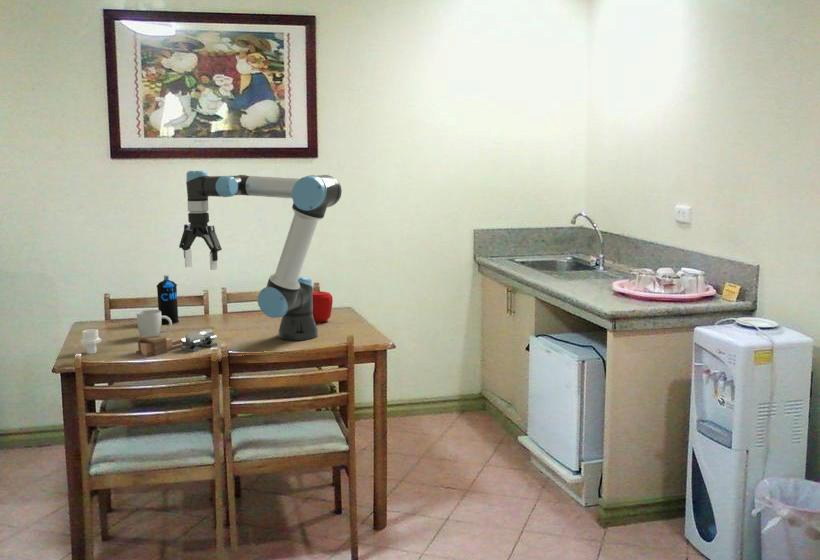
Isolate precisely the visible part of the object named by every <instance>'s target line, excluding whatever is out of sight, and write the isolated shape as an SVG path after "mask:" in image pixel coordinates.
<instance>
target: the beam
mask: <svg viewBox="0 0 820 560" xmlns="http://www.w3.org/2000/svg"><path fill="white" fill-rule="evenodd" d="M166 338H167V337H164V336H154V335H146V336H142V337H141V336H139V337H137V348H138V350H136V351H135V354H136V355H140V354H141V345H140V343H144V342H153V352H150V353H147V355H146V357H152V356H158V355H163V354H167V353H168V352H170V351H171V352H172V351H174V350H178V349H180V347H182V346H184V345H183V344H182V342H181V341H180V340H181V339H178V340H174V341H172V347H169V348H167V343H166Z"/></svg>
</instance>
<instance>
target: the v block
mask: <svg viewBox="0 0 820 560" xmlns="http://www.w3.org/2000/svg"><path fill="white" fill-rule="evenodd" d="M217 338H218V336H217V335H216V334H214V336H210V337H209V338H208V339H207V340H206V341H203V342H200V340H195V341H192V342H191V344H190V345H188V344H187V343H186V341H185V337H184V338H180V339H179V340H180V341H181V342H182V343H181V344H183V345H184V346H182V347H180V348H179V349H180V351H185V352H189V353H190V352H191V353H196V352H195V351H197V352H200V351H202V347H205V346H207V347H206V348H215V347H218V342H214V341H215V339H217ZM200 345H202V346H201V347H200ZM214 346H215V347H214ZM199 350H200V351H199Z"/></svg>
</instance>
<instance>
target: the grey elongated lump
mask: <svg viewBox="0 0 820 560" xmlns="http://www.w3.org/2000/svg"><path fill="white" fill-rule="evenodd" d="M214 335H215V333H214V331H213V329H212V328H205V329H203V330H199V331H194V332H190V333H186V335H185V336H184V338H185V341H186V343H187V344H188V345H190V344H191V342H192V341H195V340H200V342H203V341H206V340H207V339H208V338H209V337H210V336H214Z"/></svg>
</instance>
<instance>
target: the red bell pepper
mask: <svg viewBox="0 0 820 560" xmlns="http://www.w3.org/2000/svg"><path fill="white" fill-rule="evenodd" d="M312 295H313V318H314V321H315V323H318V324H319V323H325V322H327V321H328V320H329V319H330V318H331V315H332V309H333V301H334V300H333V295H332V294H331V293H330V292H328V291H321V290H320V289H319V291H312Z"/></svg>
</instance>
